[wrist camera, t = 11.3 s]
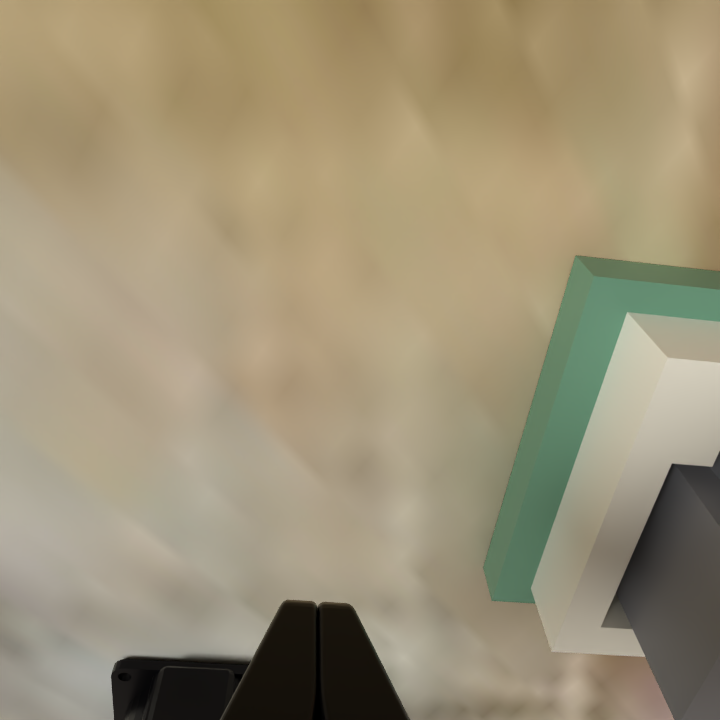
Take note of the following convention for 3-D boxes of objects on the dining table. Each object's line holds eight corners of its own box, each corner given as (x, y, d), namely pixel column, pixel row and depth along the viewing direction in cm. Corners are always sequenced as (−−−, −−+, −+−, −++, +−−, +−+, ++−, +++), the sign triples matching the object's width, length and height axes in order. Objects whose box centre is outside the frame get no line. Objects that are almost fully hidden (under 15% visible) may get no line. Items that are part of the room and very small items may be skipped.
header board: (742, 584, 26) (807, 680, 22) (483, 567, 25) (508, 664, 21) (905, 292, 20) (1027, 358, 16) (575, 255, 19) (630, 318, 15)
